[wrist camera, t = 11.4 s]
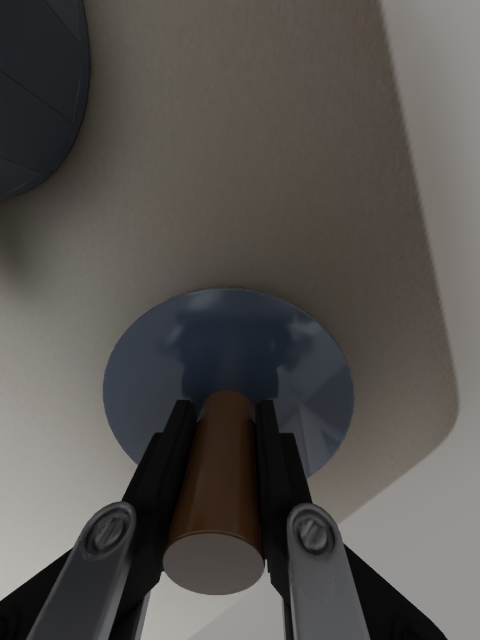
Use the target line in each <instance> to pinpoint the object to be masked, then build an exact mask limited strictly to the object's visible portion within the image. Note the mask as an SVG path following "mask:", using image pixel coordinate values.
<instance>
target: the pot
mask: <svg viewBox="0 0 480 640" xmlns="http://www.w3.org/2000/svg"><path fill="white" fill-rule="evenodd" d="M88 83H89V43H88V34H87V26H86V18H85V13H84V8H83V4H82V0H0V200H1V199H5V198H9V197H13V196H17V195H19V194H22V193H24V192H26V191H28V190H30V189H32V188H34V187H35V186H37V185H38V184H40V183H41V182H43V181H44V180H46V179H47V178H48V177H49V176H50V175H51V174H52V173H53V172H54V171H55V170H56V169H57V168H58V166H59V165H60V164H61V162H62V161H63V159H64V158H65V157H66V155H67V154H68V152H69V150H70V148H71V146H72V144H73V142H74V140H75V138H76V136H77V133H78V130H79V127H80V125H81V122H82V119H83V115H84V110H85V105H86V100H87V94H88Z"/></svg>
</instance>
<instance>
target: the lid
mask: <svg viewBox="0 0 480 640" xmlns="http://www.w3.org/2000/svg"><path fill="white" fill-rule="evenodd" d="M177 400H190V401H191V403H195V408H196V420H197V425H196V429H195V433H194V436H193V440H192V444H191V448H190V452H189V455H188V459H187V463H186V467H185V470H184V474H183V478H182V482H181V486H180V489H179V493H178V497H177V501H176V504H175V508H174V512H173V516H172V520H171V523H170V527H169V531H168V535H167V538H166V542H165V546H164V550H163V554H162V566H163V569H164V571H165V573H166V574H167V576H168V577H169V578H170V579H171V580H172V581H173V582H175V583H176V584H178V585H179V586H181V587H183V588H185V589H187V590H190V591H193V592H196V593H201V594H207V595H227V594H233V593H237V592H240V591H243V590H245V589H247V588H249V587H251V586H252V585H254V584H255V583H256V582H257V581H258V580H259V579H260V578H261V576H262V574H263V572H264V568H265V556H264V541H263V528H262V518H261V503H260V487H259V472H258V457H257V441H256V426H255V413H256V403H260V400H273V402H274V408H275V413H276V418H277V423H278V429H279V433H293V434H294V436H295V440H296V443H297V447H298V451H299V454H300V458H301V462H302V466H303V469H304V473H305V477H306V479H307V478H309V477H310V476H312V475H313V474H314V473H315V472H317V471H318V470H319V469H321V468H322V467H323V466H324V465H325V464H326V463H327V462H328V461H329V460H330V458H331V457H332V456H333V455H334V453H335V452H336V451H337V450H338V448H339V446H340V445H341V443H342V441H343V440H344V438H345V436H346V433H347V431H348V429H349V426H350V423H351V419H352V415H353V408H354V386H353V380H352V376H351V371H350V368H349V366H348V363H347V361H346V358H345V356H344V354H343V352H342V351H341V349H340V347H339V346H338V344H337V342H336V341H335V340H334V339H333V337H332V336H331V335H330V334H329V333H328V331H327V330H326V329H325V328H324V327H323V326H322V325H321V324H320V323H319V322H318V321H316V320H315V319H314V318H313V317H312V316H311V315H310V314H308V313H307V312H305V311H304V310H302V309H301V308H299V307H298V306H296V305H294V304H292V303H290V302H288V301H286V300H284V299H282V298H280V297H277V296H274V295H271V294H268V293H265V292H262V291H257V290H252V289H247V288H237V287H215V288H204V289H200V290H195V291H190V292H186V293H184V294H181V295H178V296H175V297H172V298H170V299H168V300H166V301H164V302H162V303H160V304H159V305H157V306H155V307H153V308H152V309H151V310H149V311H148V312H146V313H145V314H144V315H142V316H141V317H139V318H138V319H137V320H136V321H135V322H134V323H133V324H132V325H131V326H130V327H129V328H128V329H127V330H126V331H125V333H124V334H123V335H122V337H121V338H120V339H119V341H118V342H117V344H116V346H115V347H114V349H113V351H112V353H111V355H110V358H109V361H108V364H107V367H106V370H105V375H104V382H103V402H104V408H105V413H106V416H107V420H108V423H109V426H110V428H111V430H112V432H113V434H114V436H115V438H116V439H117V441H118V443H119V444H120V446H121V447H122V449H123V450H124V451H125V452H126V453H127V455H128V456H129V457H130V458H131V459H132V460H133V461H134V462H135V463H136V464H137V465H139V463H140V461H141V459H142V457H143V455H144V453H145V451H146V449H147V446H148V444H149V442H150V440H151V438H152V436H153V435H154V433H156V432H163V431H164V428H165V426H166V424H167V421H168V419H169V417H170V414H171V412H172V410H173V408H174V405H175V403H176V401H177Z"/></svg>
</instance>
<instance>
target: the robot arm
mask: <svg viewBox="0 0 480 640" xmlns="http://www.w3.org/2000/svg"><path fill="white" fill-rule="evenodd" d="M196 425H197V420H196V408H195V403H191V401H190V400H177V401H176V403H175V405H174V408H173V410H172V412H171V414H170V417H169V419H168V421H167V424H166V426H165V428H164V431H163V432H156V433H154V435H153V436H152V438H151V440H150V442H149V444H148V446H147V449H146V451H145V453H144V455H143V457H142V459H141V461H140V463H139V465H138V467H137V469H136V471H135V473H134V476H133V478H132V480H131V482H130V484H129V486H128V488H127V490H126V492H125V494H124V496H123V498H122V501H120V502H115V503H111V504H109V505H107V506H105V507H103V508H102V509H101V510H99V511H98V512H97V513H95V514H94V515H93V517H92V518H91V519H90V520H89V521H88V522H87V524H86V525H85V527H84V528H83V530H82V532H81V533H80V535H79V537H78V539H77V541H76V543H75V545H74V547H73V548H72V549H70V550H69V551H68V552H66V553H65V554H64V555H62V556H61V557H59V558H58V559H57V560H55V561H54V562H53V563H51V564H50V565H49V566H47V567H46V568H45V569H43V570H42V571H40V572H39V573H38V574H36V575H35V576H34V577H32V578H31V579H30V580H28V581H27V582H25V583H24V584H23V585H21V586H20V587H19V588H17V589H16V590H15V591H13V592H12V593H11V594H9V595H8V596H6V597H5V598H4V599H2V600H1V601H0V640H140V638H141V634H142V629H143V625H144V620H145V616H146V611H147V607H148V602H149V598H150V593H151V589H152V588H153V587H154V586H155V585H156V584H157V583H158V582H159V580H160V576H161V572H162V571H164V569H163V566H162V554H163V550H164V546H165V542H166V538H167V535H168V531H169V527H170V523H171V520H172V516H173V512H174V508H175V504H176V501H177V497H178V493H179V489H180V486H181V482H182V478H183V474H184V470H185V467H186V463H187V459H188V455H189V452H190V448H191V444H192V440H193V436H194V433H195V429H196ZM255 426H256V441H257V457H258V472H259V487H260V503H261V518H262V528H263V541H264V556H265V559H267V566H268V573H270V577H271V584H272V585H273V586H274V587H275V589H276V590H277V591H278V592H279V594H280V595H281V596H282V611H283V628H284V640H447V638H446V637H445V635H444V634H443V633H442V632H441V631H440V630H439V628H438V627H437V626H436V625H435V624H434V623H433V622H432V621H431V620H430V619H429V618H428V617H427V616H425V615H424V614H423V613H422V612H421V611H420V610H419V609H417V608H416V607H415V606H414V605H413V604H412V603H411V602H409V601H408V600H407V599H406V598H405V597H404V596H403V595H402V594H400V593H399V592H398V591H397V590H396V589H395V588H394V587H392V586H391V585H390V584H389V583H388V582H387V581H386V580H385V579H383V578H382V577H381V576H380V575H379V574H377V573H376V572H375V571H374V570H373V569H372V568H371V567H370V566H369V565H367V564H366V563H365V562H364V561H363V560H362V559H361V558H360V557H359V556H357V555H356V554H355V553H354V552H353V551H352V550H351V549H349V548H348V547H347V546H346V545H345V544H344V543H343V541H342V537H341V534H340V532H339V529H338V526H337V524H336V523H335V521H334V520H333V518H332V517H331V515H330V514H328V513H327V512H326V511H325V510H324V509H323V508H321V507H319V506H317V505H315V504H313V503H312V499H311V495H310V492H309V488H308V484H307V481H306V477H305V473H304V469H303V466H302V462H301V458H300V454H299V451H298V447H297V443H296V440H295V436H294V434H293V433H279V429H278V423H277V418H276V413H275V408H274V402H273V400H260V403H256V413H255Z"/></svg>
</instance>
